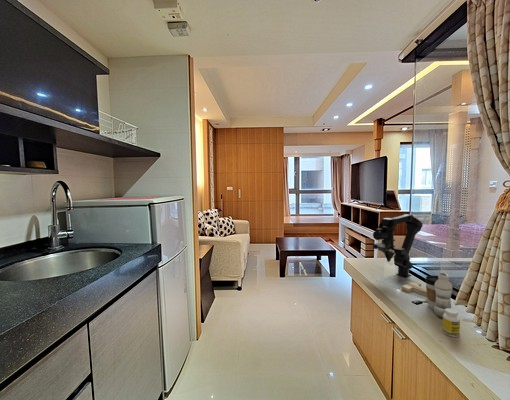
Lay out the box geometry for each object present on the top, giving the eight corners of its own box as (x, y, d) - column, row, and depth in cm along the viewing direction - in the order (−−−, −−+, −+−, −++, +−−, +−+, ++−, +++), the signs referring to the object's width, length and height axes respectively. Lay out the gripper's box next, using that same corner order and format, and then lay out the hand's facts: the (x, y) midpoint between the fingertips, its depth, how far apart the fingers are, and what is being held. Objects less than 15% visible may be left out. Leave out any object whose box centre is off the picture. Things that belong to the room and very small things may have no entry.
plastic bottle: (430, 312, 111) (430, 272, 110) (444, 312, 111) (445, 271, 110) (440, 320, 105) (441, 277, 103) (456, 320, 104) (456, 277, 103)
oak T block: (414, 284, 140) (414, 281, 140) (436, 292, 129) (436, 289, 129) (401, 289, 135) (401, 286, 134) (424, 298, 124) (424, 294, 124)
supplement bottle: (452, 338, 93) (453, 315, 92) (439, 330, 98) (439, 308, 97) (463, 336, 94) (463, 312, 93) (449, 328, 99) (449, 306, 98)
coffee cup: (450, 312, 111) (450, 281, 110) (430, 310, 113) (430, 280, 112) (440, 303, 119) (440, 274, 118) (421, 302, 121) (421, 274, 120)
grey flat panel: (390, 276, 154) (390, 275, 154) (442, 294, 128) (442, 293, 128) (376, 281, 148) (376, 280, 148) (427, 300, 122) (427, 300, 122)
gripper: (367, 237, 152) (367, 260, 153) (395, 242, 136) (396, 268, 137) (377, 234, 157) (378, 257, 158) (406, 239, 141) (406, 264, 142)
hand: (388, 261), depth 149 cm, fingers closed
